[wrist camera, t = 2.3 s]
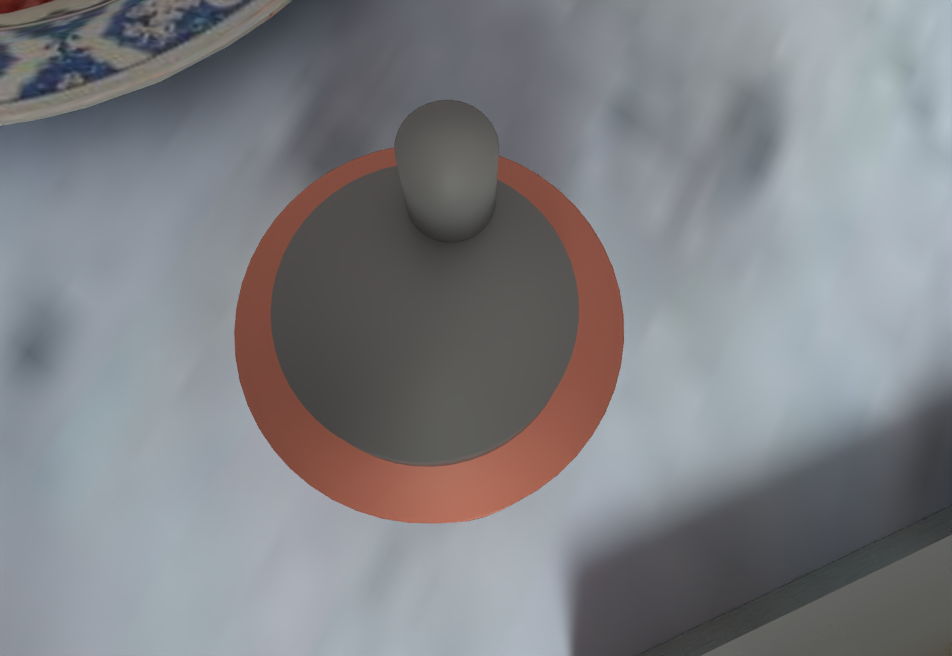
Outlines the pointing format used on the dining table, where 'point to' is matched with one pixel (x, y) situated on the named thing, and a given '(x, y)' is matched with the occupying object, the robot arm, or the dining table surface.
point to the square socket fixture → (846, 605)
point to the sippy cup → (429, 327)
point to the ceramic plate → (108, 47)
